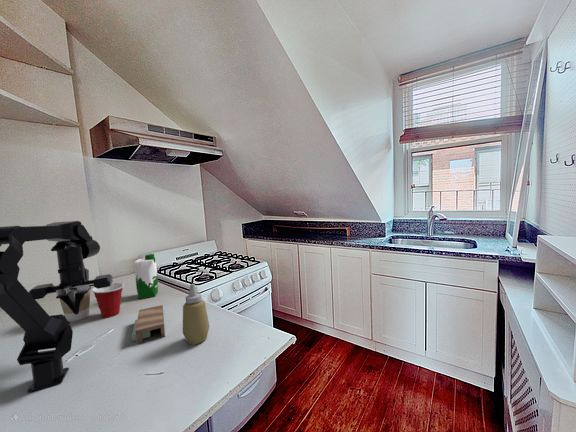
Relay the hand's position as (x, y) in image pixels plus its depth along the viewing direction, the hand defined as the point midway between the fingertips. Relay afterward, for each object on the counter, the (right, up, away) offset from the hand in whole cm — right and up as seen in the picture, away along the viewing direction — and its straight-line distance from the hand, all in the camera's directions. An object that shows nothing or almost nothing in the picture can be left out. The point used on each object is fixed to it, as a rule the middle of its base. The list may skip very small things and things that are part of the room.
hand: (77, 313), depth 77 cm
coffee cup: (-22, -12, +26) cm, 36 cm away
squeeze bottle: (+35, -10, +4) cm, 37 cm away
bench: (+16, -10, +13) cm, 23 cm away
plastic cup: (-9, -11, +27) cm, 31 cm away
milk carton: (-4, -10, +48) cm, 49 cm away
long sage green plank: (+13, -11, +12) cm, 21 cm away
